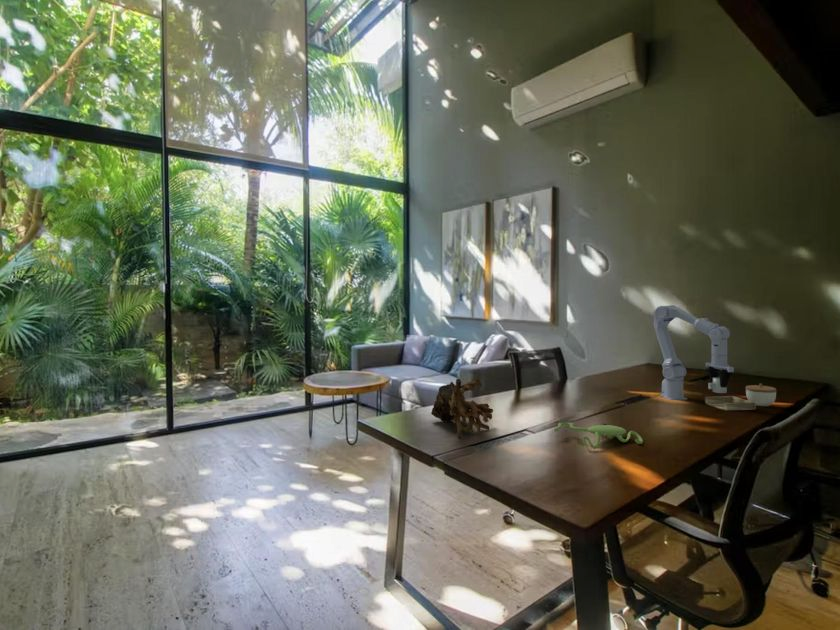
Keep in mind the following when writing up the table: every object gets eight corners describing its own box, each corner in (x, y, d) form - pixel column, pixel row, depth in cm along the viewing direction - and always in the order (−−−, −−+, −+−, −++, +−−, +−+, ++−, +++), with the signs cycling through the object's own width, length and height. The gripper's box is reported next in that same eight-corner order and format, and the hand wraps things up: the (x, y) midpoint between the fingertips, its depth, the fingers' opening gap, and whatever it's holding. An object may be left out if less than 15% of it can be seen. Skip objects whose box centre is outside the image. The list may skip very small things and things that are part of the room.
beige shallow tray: (703, 403, 200) (703, 396, 200) (732, 402, 201) (732, 395, 201) (725, 411, 187) (725, 403, 187) (755, 410, 187) (755, 403, 187)
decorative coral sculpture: (456, 394, 194) (512, 391, 173) (444, 447, 184) (503, 450, 163) (414, 371, 180) (470, 364, 159) (399, 427, 170) (457, 427, 149)
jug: (705, 391, 196) (705, 377, 196) (721, 390, 197) (721, 376, 196) (713, 393, 191) (713, 379, 191) (729, 392, 192) (729, 379, 191)
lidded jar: (765, 402, 200) (765, 381, 200) (782, 408, 189) (782, 386, 189) (740, 402, 201) (740, 381, 201) (755, 408, 190) (755, 386, 190)
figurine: (548, 437, 160) (548, 421, 159) (611, 429, 167) (611, 414, 167) (581, 454, 142) (580, 436, 142) (649, 444, 149) (649, 427, 149)
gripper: (740, 356, 186) (740, 389, 187) (716, 352, 201) (716, 382, 201) (724, 357, 186) (724, 389, 187) (701, 352, 200) (700, 382, 201)
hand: (719, 385), depth 194 cm, fingers closed on jug, 5 cm apart
